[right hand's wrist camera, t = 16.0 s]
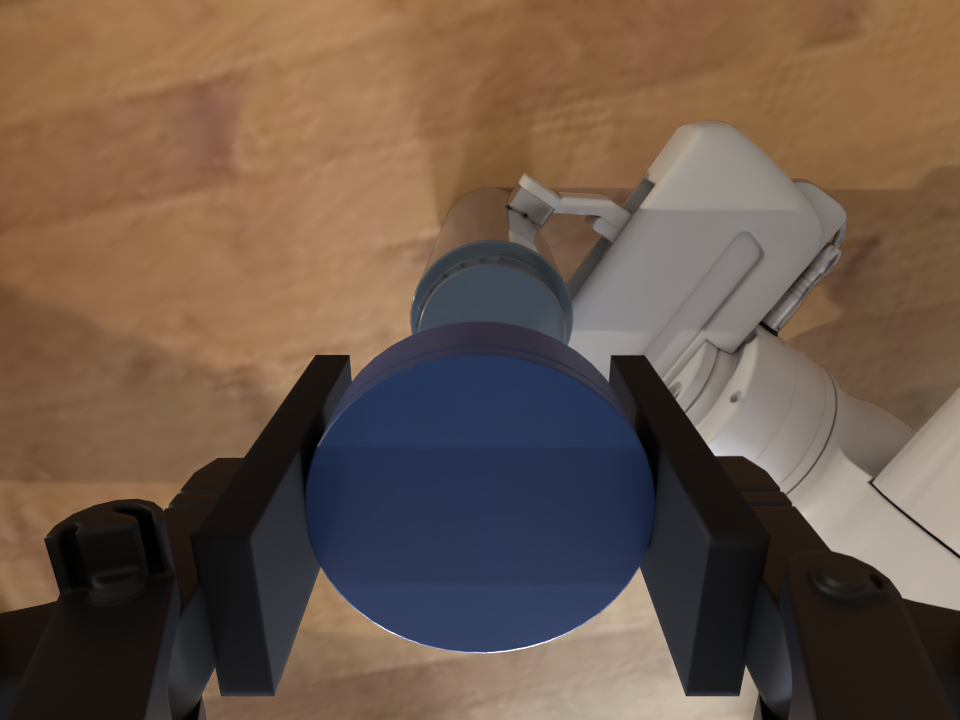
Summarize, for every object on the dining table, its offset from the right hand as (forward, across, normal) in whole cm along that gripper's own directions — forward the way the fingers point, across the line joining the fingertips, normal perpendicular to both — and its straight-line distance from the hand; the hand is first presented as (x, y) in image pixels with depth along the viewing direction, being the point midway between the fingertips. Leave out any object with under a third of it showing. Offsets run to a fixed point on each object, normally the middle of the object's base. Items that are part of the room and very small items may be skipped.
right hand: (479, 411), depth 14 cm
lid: (-4, 0, 0) cm, 4 cm away
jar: (+21, +1, 0) cm, 21 cm away
